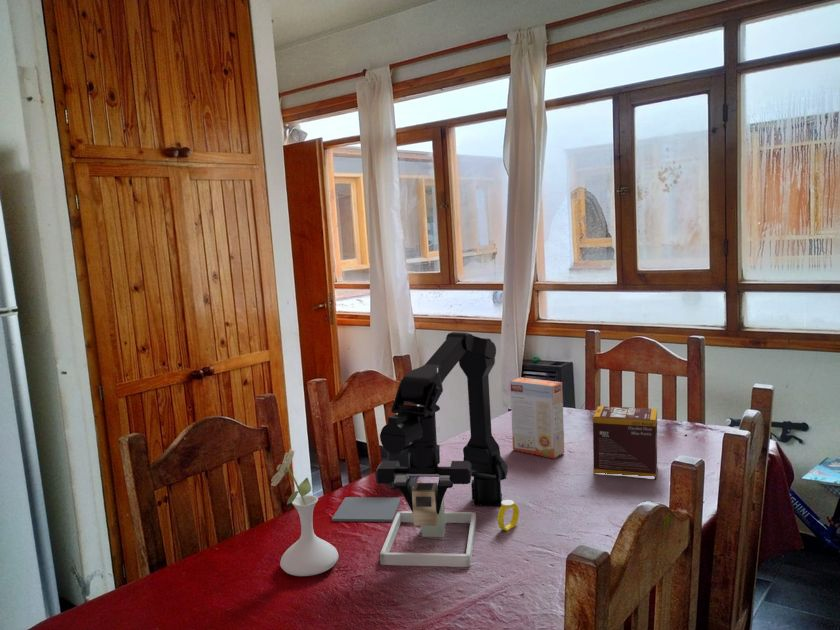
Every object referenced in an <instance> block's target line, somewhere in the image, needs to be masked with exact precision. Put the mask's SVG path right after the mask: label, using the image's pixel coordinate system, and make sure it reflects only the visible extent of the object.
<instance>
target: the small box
mask: <svg viewBox="0 0 840 630" xmlns="http://www.w3.org/2000/svg"><path fill="white" fill-rule="evenodd" d="M387 461H399V464H400V467H409V456H407V455H406V450H404V451H402V452H401V453H398V454H392V453H389V452H388V451H387ZM418 479H419V477H412V486H413V487H414V485H415V483H417V480H418ZM393 484H394V481H393V482H392V483H391V484H388V488H389V489H395V488H394V487H393Z"/></svg>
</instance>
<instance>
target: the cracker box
mask: <svg viewBox="0 0 840 630" xmlns="http://www.w3.org/2000/svg"><path fill="white" fill-rule="evenodd" d="M509 382H510V403H511V404H510V407H511V410H510V411H511V431H512V432H511V434H512V435H511V436H512V438H511V439H512V450H513V451H516V450H517V451H516V452H520V451H522V453H525V452H526V453H525V454H530V453H531V454H530V455H534V454H536V455H535V456H539V455H540V457H545V458H548V457H549V458H550V459H553V458H555V459H556V458H558V457H560V456H562V455H564V454H565V433H564V432H565V431H564V430H565V429H564V426H565V425H564V397H563V393H564V392H563V382H562V381H554V380H545V379H540V378H529V377H522V376H521V377H518V378H514V379H512V380H510V381H509ZM563 453H564V454H563ZM561 454H562V455H561ZM559 455H560V456H559Z"/></svg>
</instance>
